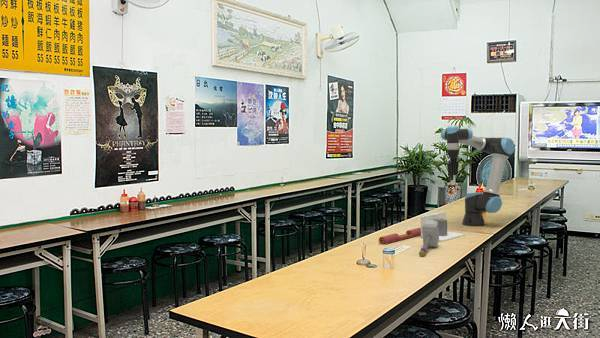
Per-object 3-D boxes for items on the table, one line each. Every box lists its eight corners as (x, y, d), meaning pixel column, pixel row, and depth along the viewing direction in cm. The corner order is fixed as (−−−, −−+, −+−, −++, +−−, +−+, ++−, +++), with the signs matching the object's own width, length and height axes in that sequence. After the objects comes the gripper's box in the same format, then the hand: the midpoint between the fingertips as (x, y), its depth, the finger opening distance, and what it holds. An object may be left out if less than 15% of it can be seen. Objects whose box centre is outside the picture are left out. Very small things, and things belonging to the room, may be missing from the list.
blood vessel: (419, 234, 348) (419, 226, 348) (425, 235, 345) (425, 227, 344) (378, 244, 321) (378, 236, 320) (385, 245, 317) (384, 237, 316)
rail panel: (443, 232, 351) (443, 211, 350) (465, 235, 339) (465, 214, 338) (420, 238, 334) (420, 216, 333) (442, 241, 322) (442, 219, 321)
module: (438, 233, 342) (437, 217, 341) (447, 235, 337) (447, 218, 336) (433, 234, 339) (433, 218, 338) (443, 236, 334) (442, 219, 333)
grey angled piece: (427, 242, 282) (438, 219, 308) (413, 241, 285) (424, 219, 311) (429, 267, 286) (439, 242, 312) (415, 265, 290) (426, 241, 315)
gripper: (452, 149, 337) (452, 186, 338) (463, 149, 345) (463, 184, 347) (442, 149, 342) (442, 185, 344) (453, 148, 351) (453, 183, 353)
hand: (452, 184), depth 345 cm, fingers closed
